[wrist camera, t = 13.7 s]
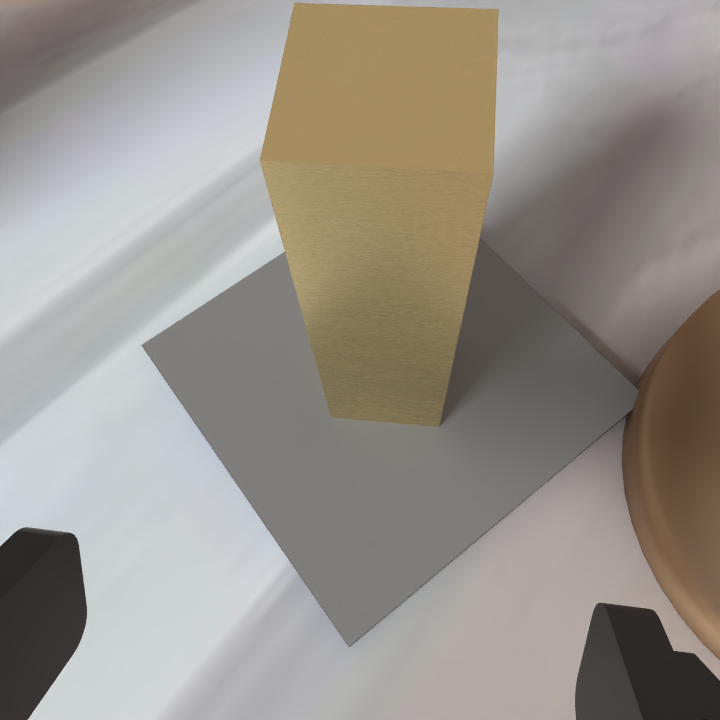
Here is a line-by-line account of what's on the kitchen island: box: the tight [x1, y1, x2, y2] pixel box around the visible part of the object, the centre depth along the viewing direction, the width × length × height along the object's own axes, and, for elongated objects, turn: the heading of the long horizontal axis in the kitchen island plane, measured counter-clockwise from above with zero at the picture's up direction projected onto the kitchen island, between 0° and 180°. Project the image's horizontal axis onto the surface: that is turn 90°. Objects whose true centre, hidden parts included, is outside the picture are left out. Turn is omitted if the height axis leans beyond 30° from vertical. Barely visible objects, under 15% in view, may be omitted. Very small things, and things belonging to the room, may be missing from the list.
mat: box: [141, 239, 639, 647], centre depth 21 cm, size 12×12×1 cm
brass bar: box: [260, 3, 499, 427], centre depth 16 cm, size 4×4×12 cm
